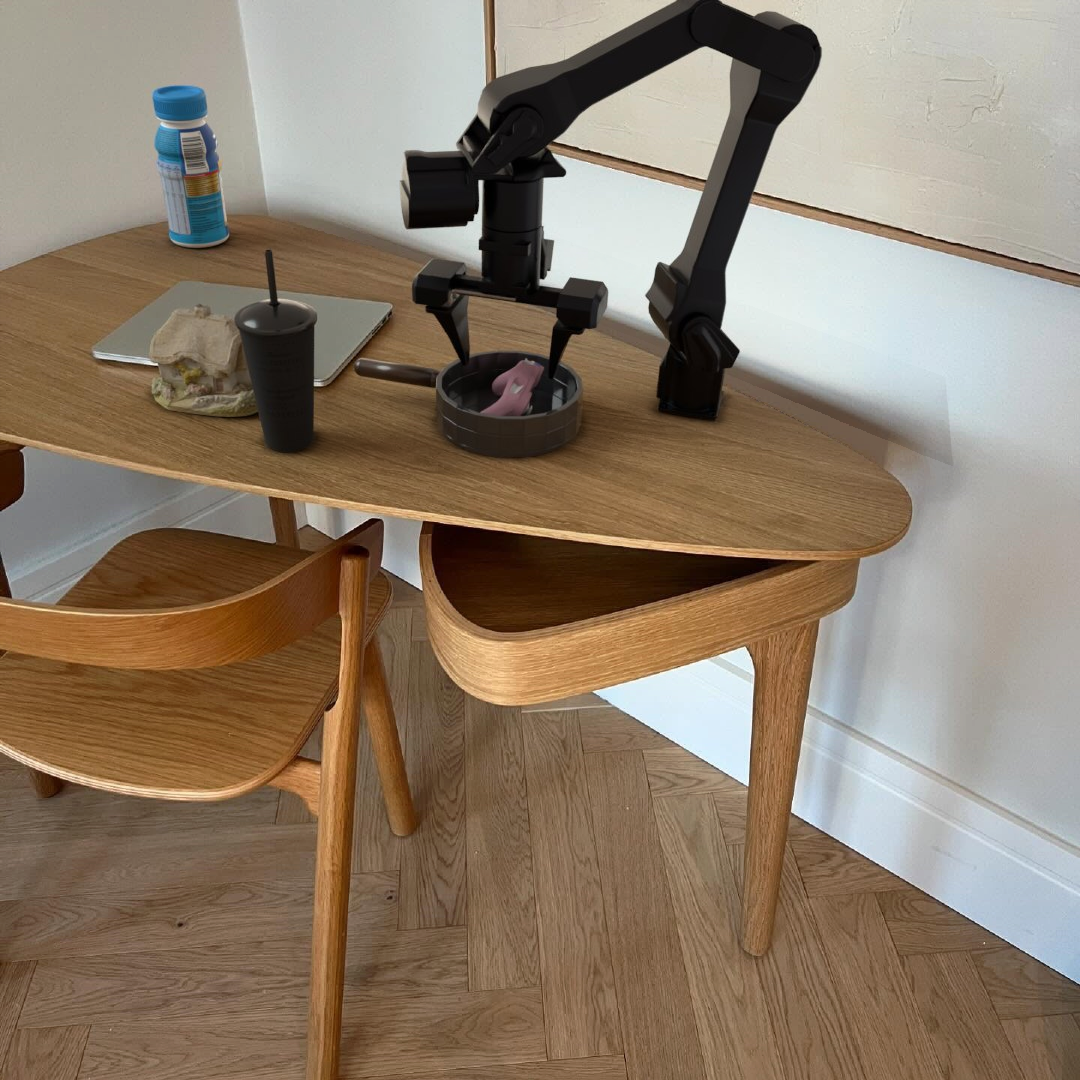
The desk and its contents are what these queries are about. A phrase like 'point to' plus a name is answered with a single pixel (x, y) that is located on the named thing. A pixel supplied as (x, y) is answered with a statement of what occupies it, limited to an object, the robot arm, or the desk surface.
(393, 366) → the pan handle
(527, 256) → the robot arm
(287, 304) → the drinking cup
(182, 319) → the ceramic model
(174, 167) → the beverage bottle
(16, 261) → the desk surface
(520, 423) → the pan
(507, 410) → the video game controller
